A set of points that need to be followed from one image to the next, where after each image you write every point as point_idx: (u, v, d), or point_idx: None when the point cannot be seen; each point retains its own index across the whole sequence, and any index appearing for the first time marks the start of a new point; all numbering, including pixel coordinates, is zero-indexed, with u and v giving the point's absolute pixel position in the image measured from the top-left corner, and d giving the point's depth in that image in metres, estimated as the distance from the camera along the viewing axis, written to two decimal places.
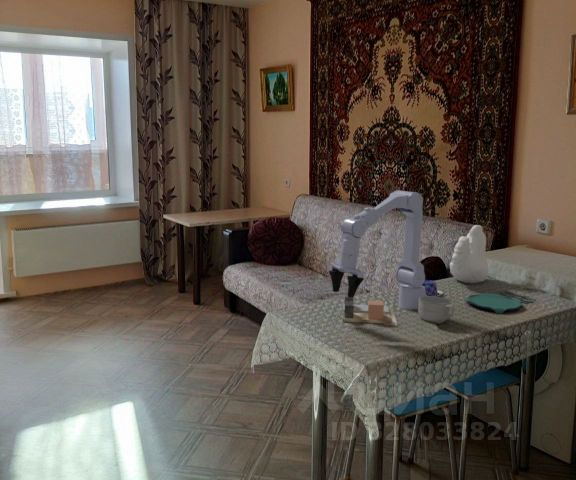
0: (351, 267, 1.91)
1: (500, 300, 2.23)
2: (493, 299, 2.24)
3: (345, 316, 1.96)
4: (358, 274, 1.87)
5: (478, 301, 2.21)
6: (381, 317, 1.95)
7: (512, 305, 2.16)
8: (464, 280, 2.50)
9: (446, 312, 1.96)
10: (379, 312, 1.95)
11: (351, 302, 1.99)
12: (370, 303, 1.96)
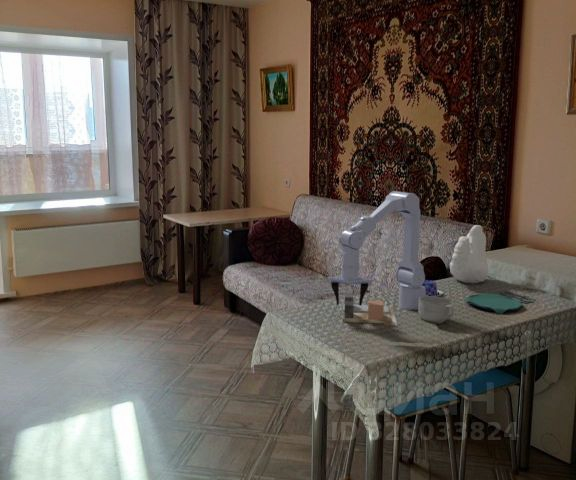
0: (358, 277, 1.95)
1: (500, 300, 2.23)
2: (493, 299, 2.24)
3: (345, 316, 1.96)
4: (370, 282, 1.95)
5: (478, 301, 2.20)
6: (381, 317, 1.95)
7: (512, 305, 2.16)
8: (464, 280, 2.50)
9: (446, 312, 1.96)
10: (379, 312, 1.95)
11: (351, 302, 1.99)
12: (370, 303, 1.96)
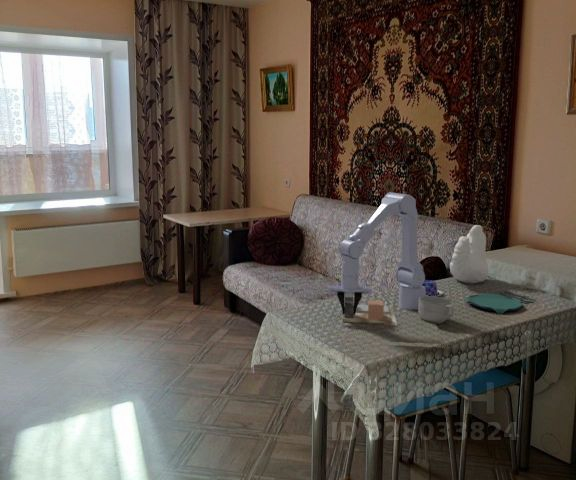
0: (357, 286, 1.96)
1: (500, 300, 2.23)
2: (493, 299, 2.24)
3: (345, 316, 1.96)
4: (369, 291, 1.95)
5: (478, 301, 2.20)
6: (381, 317, 1.95)
7: (513, 305, 2.16)
8: (464, 280, 2.50)
9: (446, 312, 1.96)
10: (379, 312, 1.95)
11: (351, 302, 1.99)
12: (370, 303, 1.96)
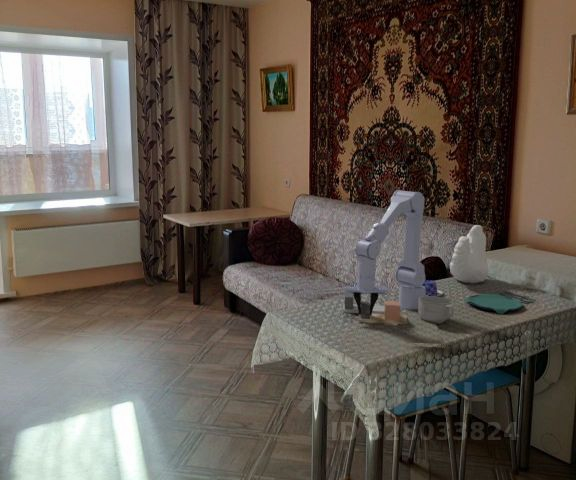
0: (374, 287, 1.95)
1: (501, 300, 2.23)
2: (494, 299, 2.24)
3: (361, 317, 1.96)
4: (386, 292, 1.95)
5: (479, 302, 2.20)
6: (397, 318, 1.94)
7: (513, 305, 2.16)
8: (464, 280, 2.50)
9: (446, 312, 1.96)
10: (395, 313, 1.94)
11: (367, 303, 1.98)
12: (386, 304, 1.95)
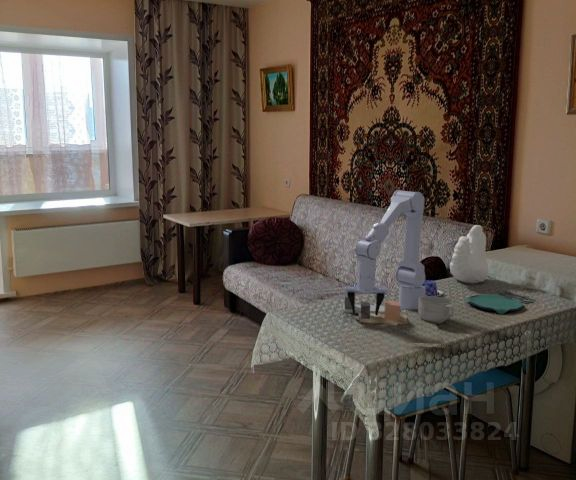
0: (374, 287, 1.95)
1: (501, 300, 2.22)
2: (494, 299, 2.23)
3: (361, 317, 1.96)
4: (386, 292, 1.95)
5: (479, 302, 2.20)
6: (397, 318, 1.94)
7: (513, 305, 2.16)
8: (464, 280, 2.50)
9: (446, 312, 1.96)
10: (395, 313, 1.94)
11: (367, 303, 1.98)
12: (387, 304, 1.95)
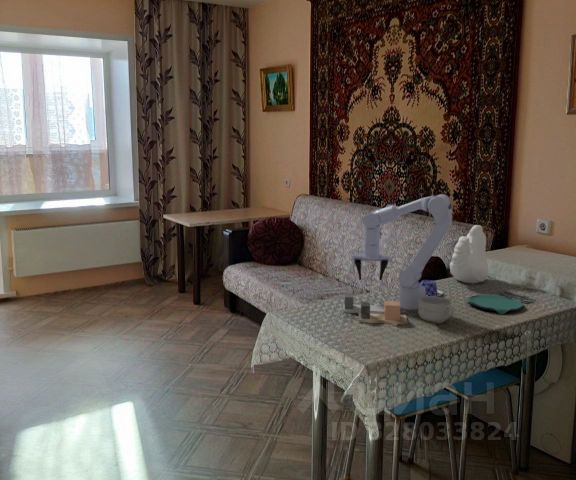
0: (378, 254, 2.16)
1: (501, 301, 2.22)
2: (494, 300, 2.23)
3: (361, 317, 1.96)
4: (389, 259, 2.15)
5: (479, 302, 2.20)
6: (397, 318, 1.94)
7: (514, 306, 2.16)
8: (464, 280, 2.50)
9: (446, 312, 1.96)
10: (395, 313, 1.94)
11: (367, 303, 1.98)
12: (387, 304, 1.95)
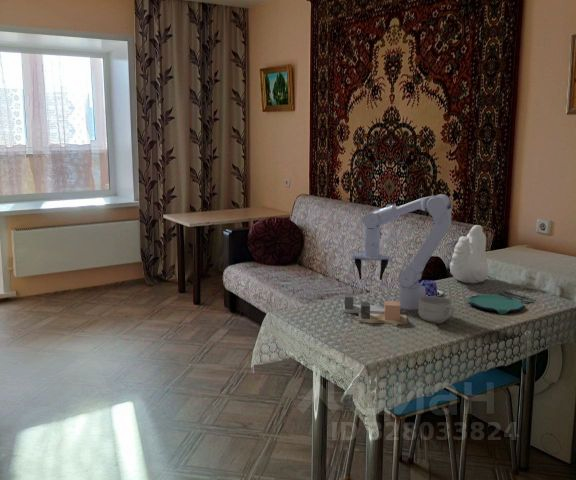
0: (378, 254, 2.16)
1: (501, 301, 2.22)
2: (494, 300, 2.23)
3: (361, 317, 1.96)
4: (389, 258, 2.16)
5: (480, 302, 2.19)
6: (397, 318, 1.94)
7: (514, 306, 2.16)
8: (464, 280, 2.50)
9: (446, 312, 1.96)
10: (395, 313, 1.94)
11: (367, 303, 1.98)
12: (387, 304, 1.95)
